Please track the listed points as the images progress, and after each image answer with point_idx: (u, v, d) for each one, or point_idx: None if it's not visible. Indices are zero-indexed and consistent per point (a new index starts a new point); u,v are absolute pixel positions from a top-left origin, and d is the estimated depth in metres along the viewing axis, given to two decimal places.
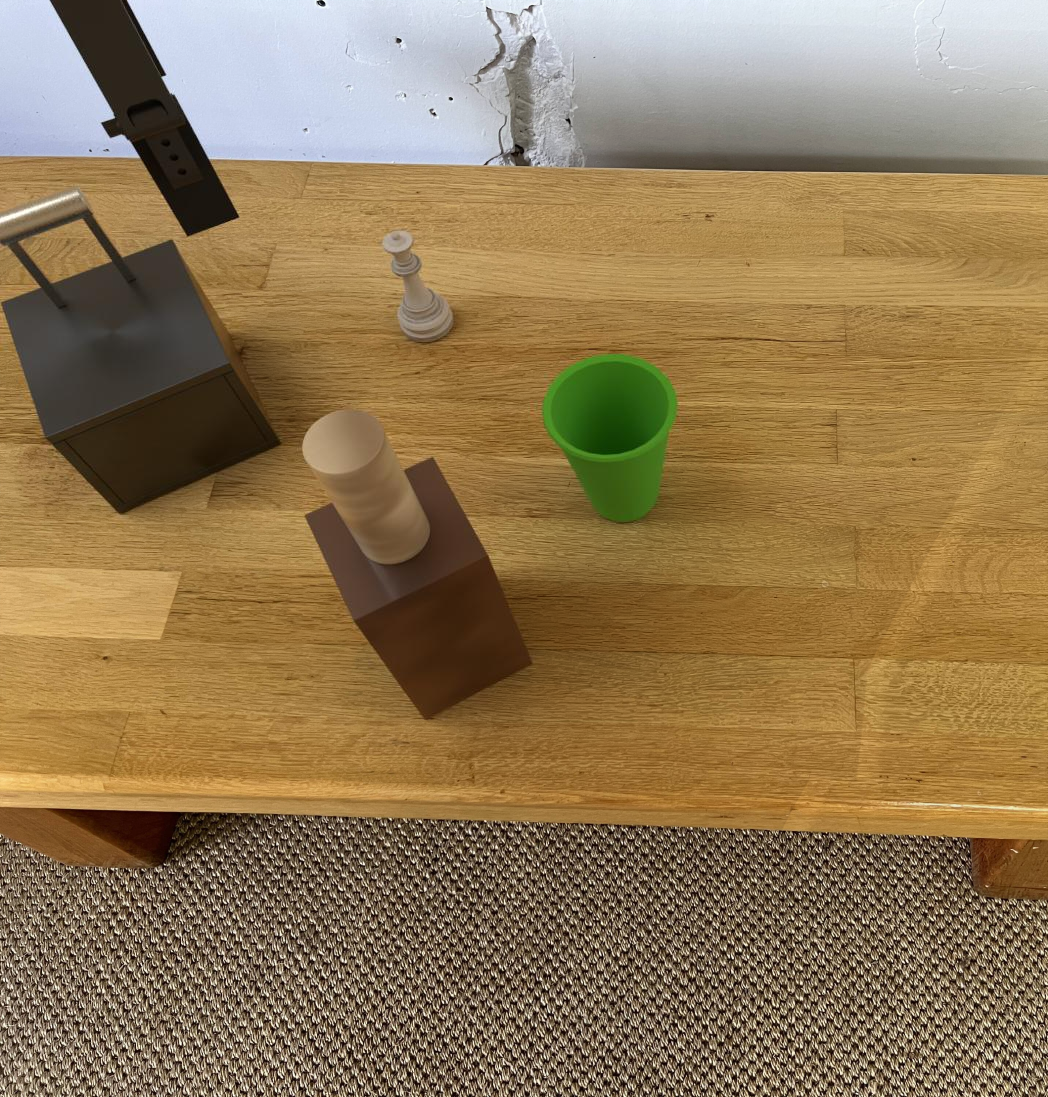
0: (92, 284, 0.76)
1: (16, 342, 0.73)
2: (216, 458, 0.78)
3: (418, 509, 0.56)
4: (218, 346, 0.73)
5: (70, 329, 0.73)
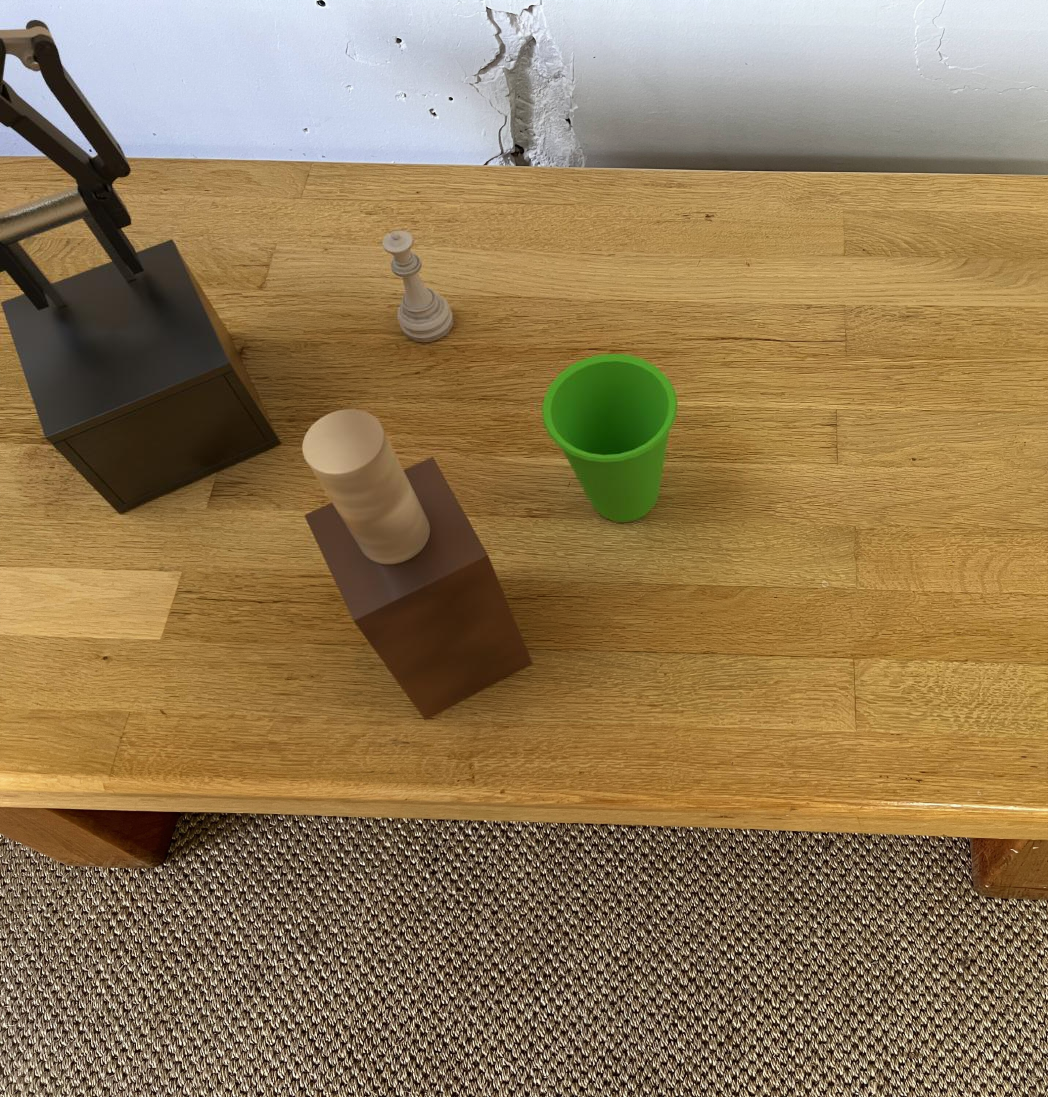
0: (92, 284, 0.76)
1: (16, 342, 0.73)
2: (216, 458, 0.78)
3: (418, 509, 0.56)
4: (218, 346, 0.73)
5: (70, 329, 0.73)
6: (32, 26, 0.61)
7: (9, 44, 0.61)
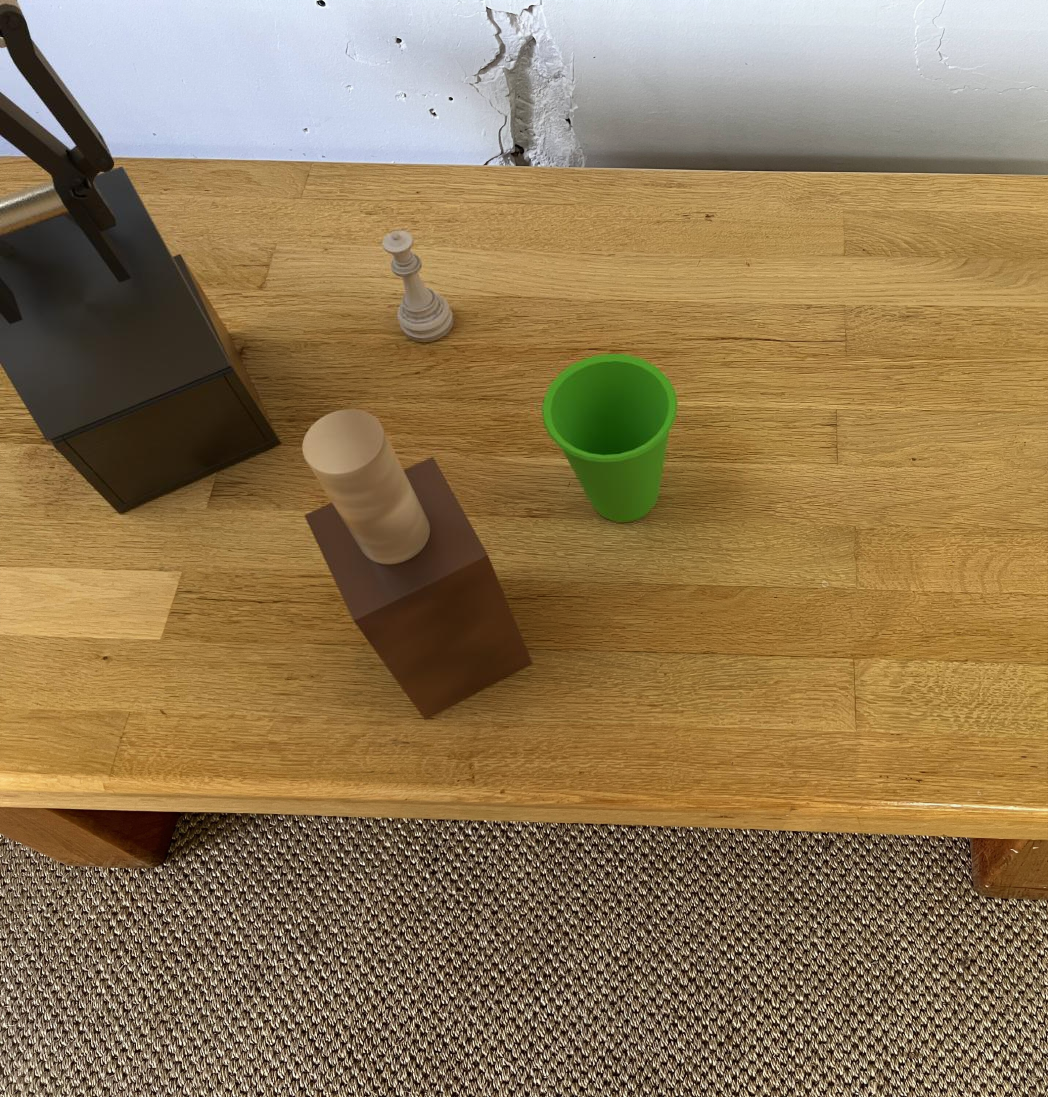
0: (37, 225, 0.67)
1: None
2: (216, 458, 0.78)
3: (418, 509, 0.56)
4: (214, 342, 0.71)
5: (30, 292, 0.67)
6: None
7: None
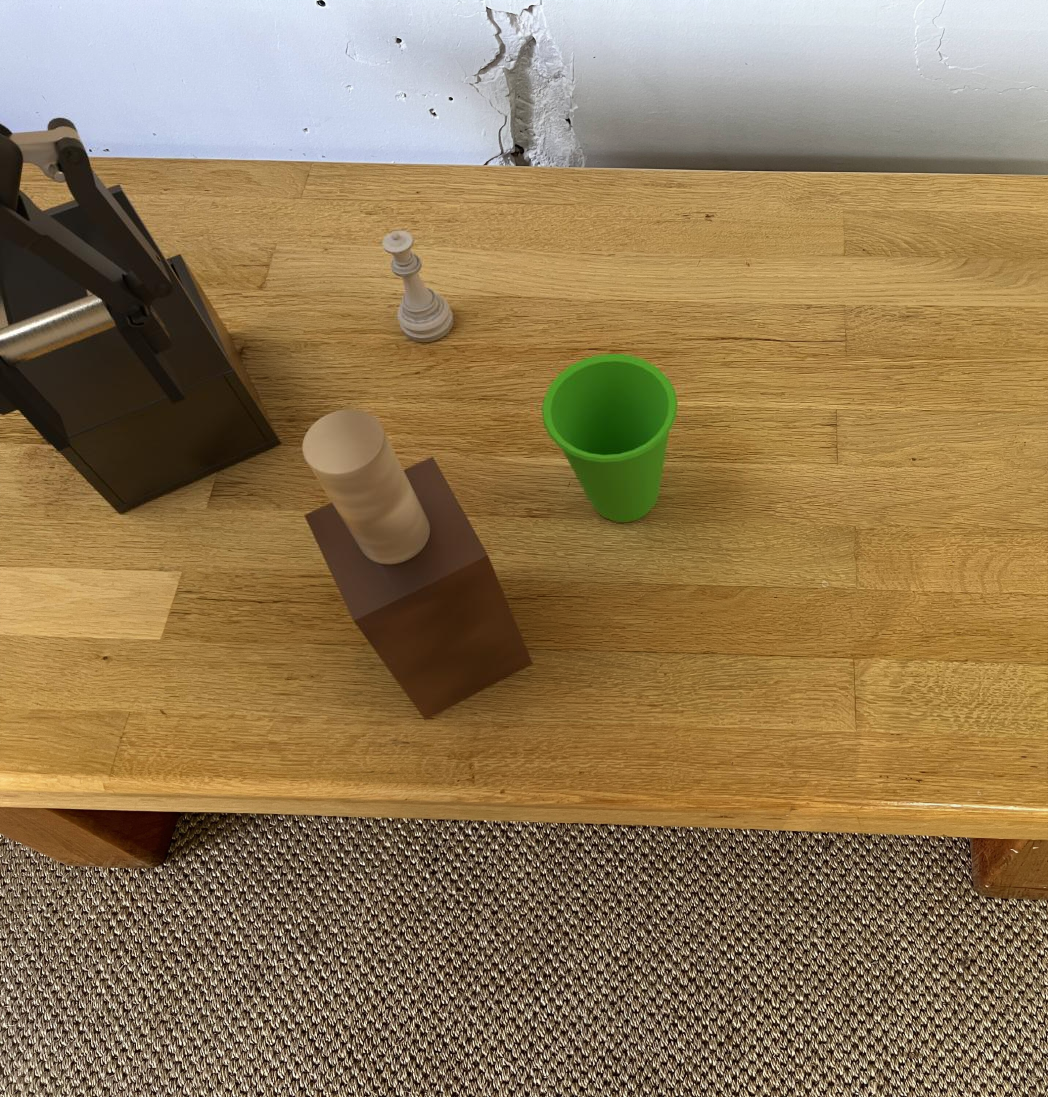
0: (27, 254, 0.60)
1: None
2: (216, 458, 0.78)
3: (418, 509, 0.56)
4: (217, 350, 0.70)
5: (23, 318, 0.62)
6: (55, 126, 0.49)
7: (27, 151, 0.48)
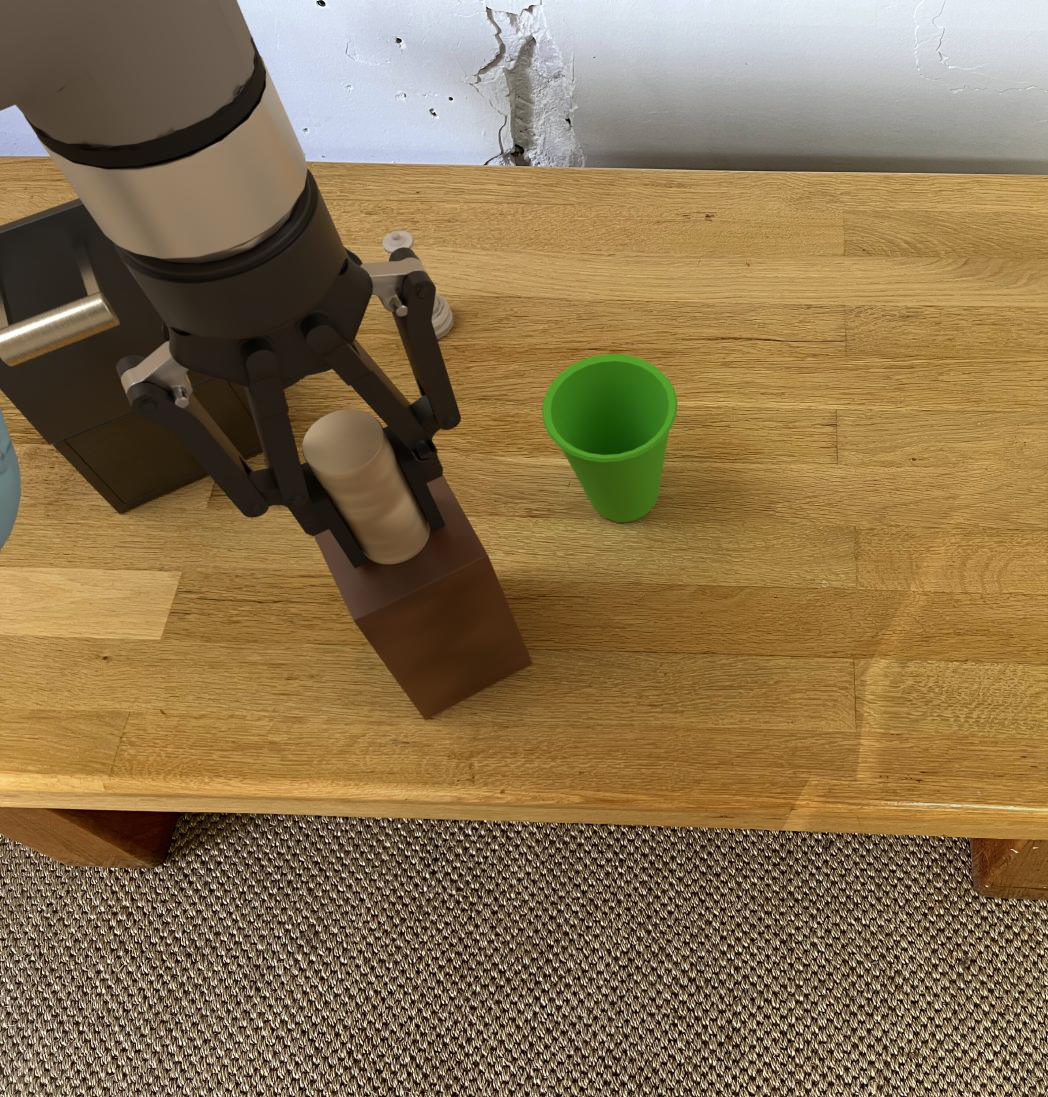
0: (27, 254, 0.60)
1: None
2: None
3: (418, 509, 0.56)
4: None
5: (23, 318, 0.62)
6: (403, 257, 0.45)
7: (377, 283, 0.44)
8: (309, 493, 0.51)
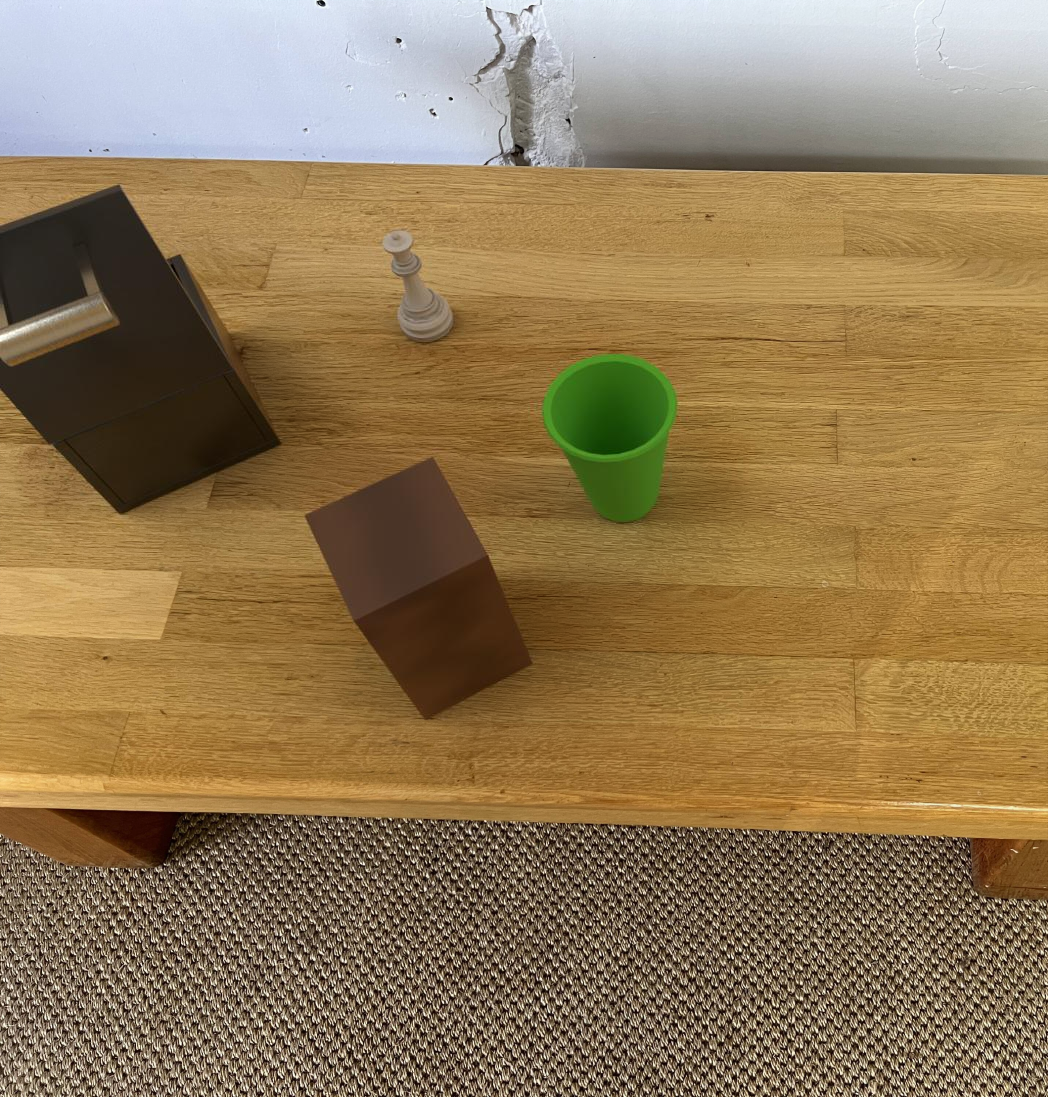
0: (27, 254, 0.60)
1: None
2: (216, 458, 0.78)
3: None
4: (217, 350, 0.70)
5: (23, 318, 0.62)
6: None
7: None
8: None
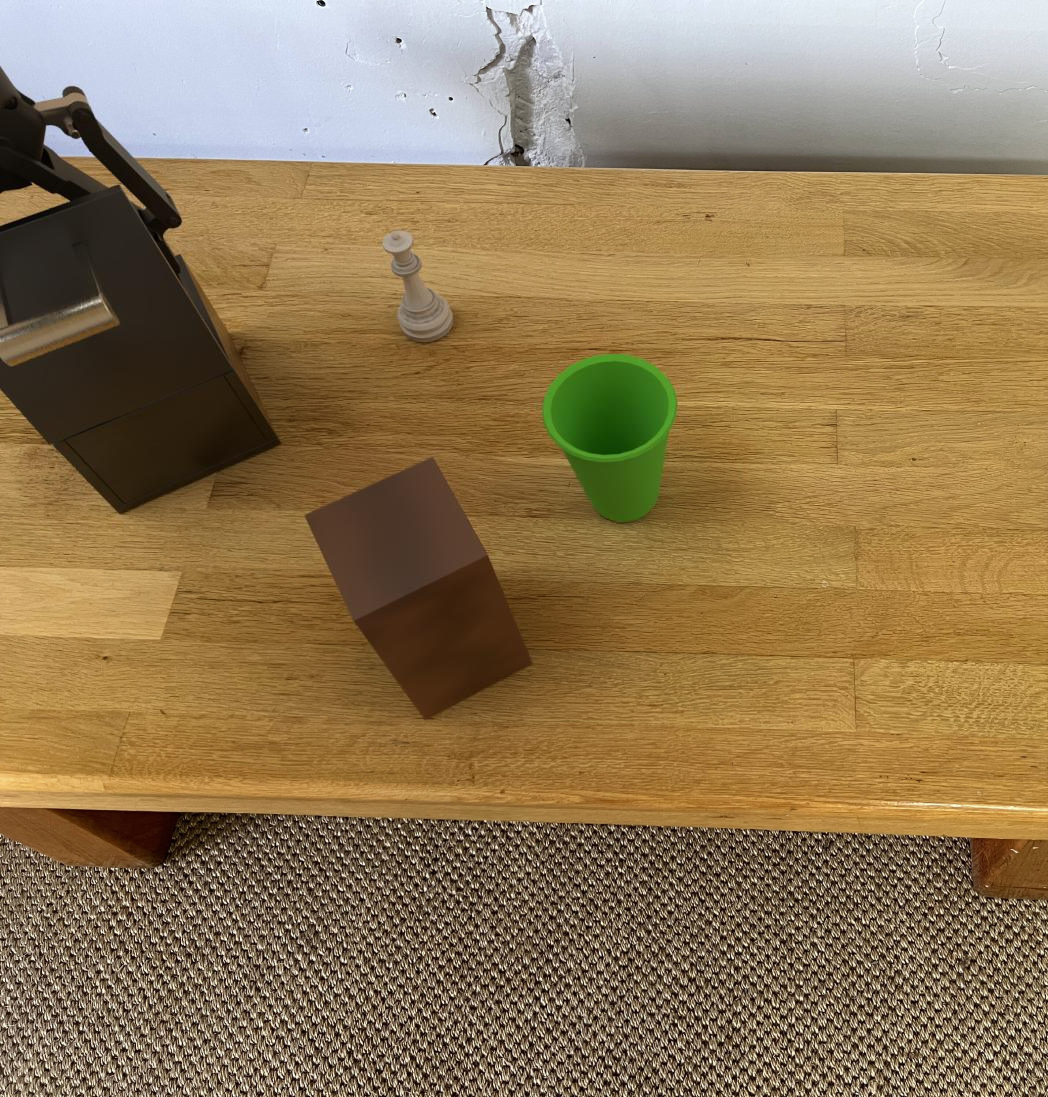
0: (27, 254, 0.60)
1: None
2: (216, 458, 0.78)
3: None
4: (217, 350, 0.70)
5: (23, 318, 0.62)
6: (67, 93, 0.61)
7: (48, 116, 0.61)
8: None
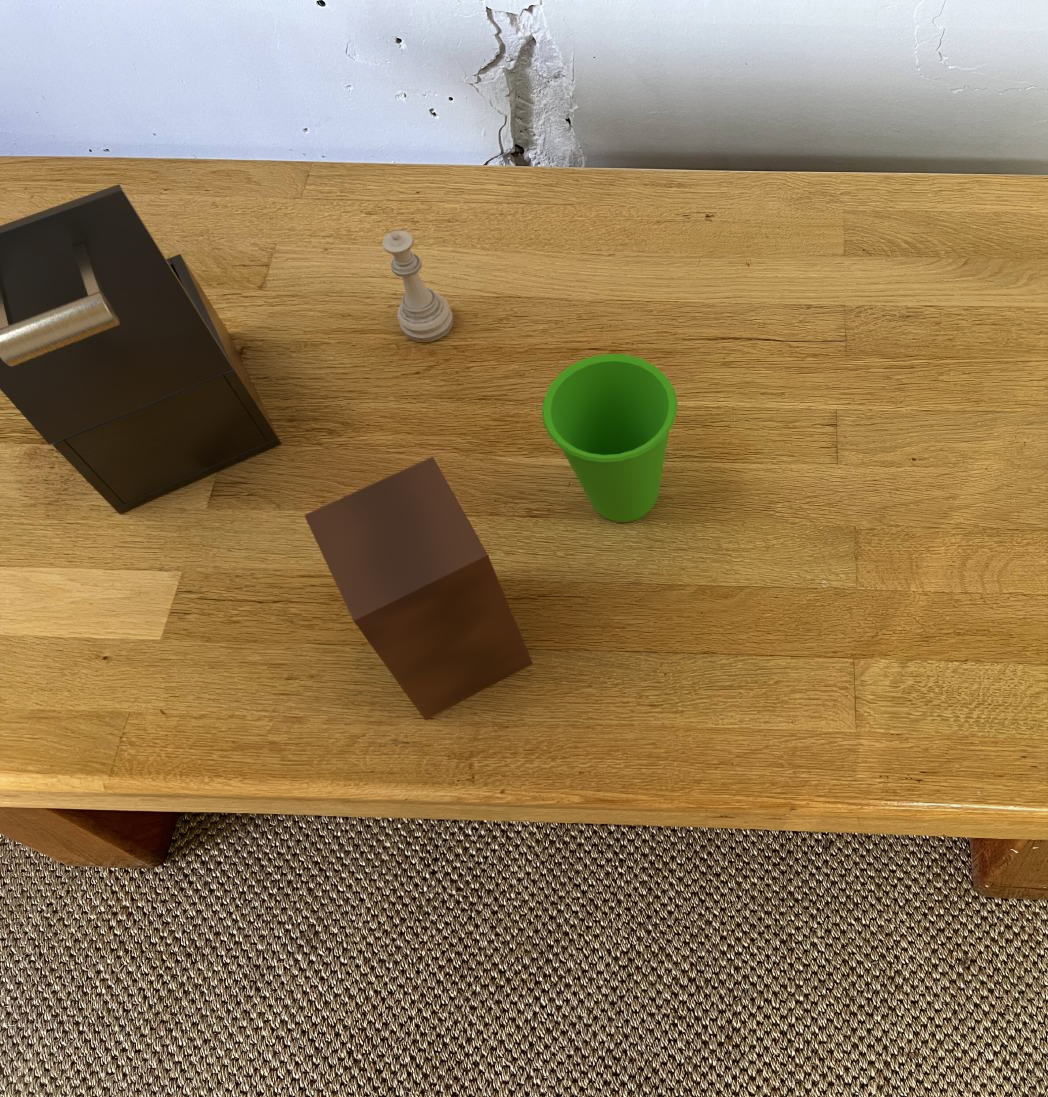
0: (27, 254, 0.60)
1: None
2: (216, 458, 0.78)
3: None
4: (217, 350, 0.70)
5: (23, 318, 0.62)
6: None
7: None
8: None
